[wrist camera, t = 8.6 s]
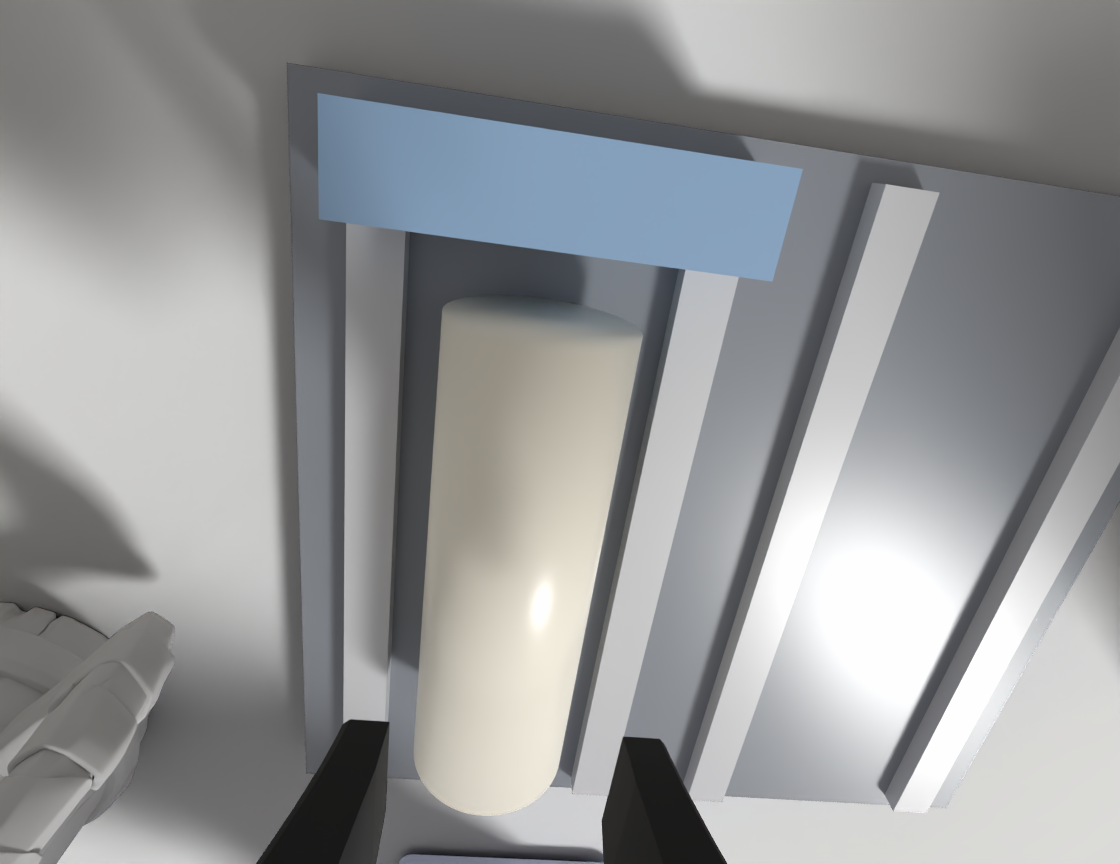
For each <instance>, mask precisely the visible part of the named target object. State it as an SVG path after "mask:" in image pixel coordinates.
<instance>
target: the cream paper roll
mask: <svg viewBox="0 0 1120 864" xmlns="http://www.w3.org/2000/svg"><path fill="white" fill-rule="evenodd" d="M642 338H643V335H642V332H641V331H640V330H639V329H638V328H637V327H636V326H635V325H633V324H631V323H630V322H628V321H626V320H624V319H622V318H620V317H617V316H615V315H612V314H610V313H607V312H604V311H601V310H597V309H594V308H590V307H586V306H582V305H578V304H573V303H569V302H563V301H558V300H551V299H544V298H536V297H527V296H513V295H482V296H471V297H464V298H460V299H456V300H453V301H450V302H449V303H447V304H446V305H445V306H444V307H443V309H442V321H441V336H440V351H439V367H438V382H437V397H436V413H435V428H434V443H433V459H432V474H431V489H430V505H429V520H428V535H427V551H426V566H425V582H424V597H423V612H422V628H421V643H420V658H419V674H418V689H417V704H416V720H415V735H414V762H415V767H416V770H417V773H418V775H419V777H420V779H421V781H422V782H423V784H424V785H425V787H426V788H427V789H428V790H429V791H430V793H431V794H432V795H433V796H434V797H436V798H437V799H438V800H440V801H441V802H442V803H444V804H446V805H447V806H449V807H451V808H453V809H456V810H458V811H460V812H464V813H468V814H472V815H479V816H495V815H503V814H507V813H512V812H515V811H517V810H520V809H522V808H524V807H526V806H528V805H530V804H531V803H533V802H534V801H535V800H537V799H538V798H539V797H540V796H541V795H542V794H543V793H544V792H545V791H546V790H547V789H548V787H549V786H550V785H551V783H552V781H553V780H554V778H555V776H556V773H557V770H558V767H559V762H560V757H561V752H562V747H563V742H564V737H565V731H566V726H567V721H568V716H569V711H570V706H571V701H572V696H573V691H574V685H575V680H576V675H577V670H578V665H579V660H580V655H581V650H582V645H583V640H584V634H585V629H586V624H587V619H588V614H589V609H590V604H591V599H592V594H593V588H594V583H595V578H596V573H597V568H598V563H599V558H600V553H601V548H602V542H603V537H604V532H605V527H606V522H607V517H608V512H609V507H610V502H611V497H612V491H613V486H614V481H615V476H616V471H617V466H618V461H619V456H620V451H621V445H622V440H623V435H624V430H625V425H626V420H627V415H628V410H629V405H630V400H631V394H632V389H633V384H634V379H635V374H636V369H637V364H638V359H639V354H640V348H641V343H642Z"/></svg>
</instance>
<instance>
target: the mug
mask: <svg viewBox="0 0 1120 864" xmlns="http://www.w3.org/2000/svg"><path fill="white" fill-rule="evenodd" d="M174 633H175V628H174V626H173V625H172V624H171V623H170V622H169V621H167V620H166V619H164V618H162V617H161V616H159V615H158V614H156V613H154V612H148V613H145V614H144V615H142V616H140V617H139V618H137V619H136V620H134V621H132V622H131V623H129V624H127V625H126V626H124V627H123V628H121V629H120V630H119V631H118V632H116V633H115V634H114V635H113V636H112V637H111V638H110V639H108V638H106V637H105V636H104V635H102V634H101V633H99V632H97V631H95V630H93V629H91V628H90V627H88V626H86V625H84V624H82V623H80V622H78V621H76V620H75V619H73V618H70V617H67V616H61V617H59V618H57V619H56V614H55V613H54V612H52V611H48V610H45V609H41V608H38V607H34V608H32V609H31V610H29V611H28V612H24V611H22V610H20V609H19V607H18V606H17V605H16V604H14V603H0V864H57V862H58V861H59V859H60V858H61V856H62V855H63V854H64V852H65V851H66V849H67V848H68V846H69V845H70V844H71V842H72V841H73V839H74V838H75V836H76V835H77V834H78V832H79V831H80V829H81V828H82V826H84V825H86V824H88V823H90V822H91V821H93V820H95V819H96V818H98V817H99V816H100V815H101V814H102V813H103V812H105V811H106V810H107V809H108V808H109V807H110V805H111V804H112V803H113V802H114V801H115V800H116V798H117V797H118V796H120V795H121V794H122V793H123V792H124V791H125V789H126V788H127V787H128V785H129V784H130V782H131V780H132V777H133V774H134V771H135V767H136V765H137V762H138V759H139V753H140V742H141V741H142V739H143V737H144V735H145V732H146V729H147V723H148V717H149V713H150V710H151V709H152V707H153V706H154V705H155V703H156V701H157V699H158V697H159V695H160V692H161V689H162V687H163V685H164V682H165V680H166V678H167V677H168V675H169V673H170V671H171V670H172V668H173V666H174V663H175V660H174V657H173V655H172V653H171V652H170V649H171V645H172V640H173V636H174Z"/></svg>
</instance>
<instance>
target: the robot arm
mask: <svg viewBox="0 0 1120 864" xmlns="http://www.w3.org/2000/svg"><path fill="white" fill-rule="evenodd" d="M389 727H390V722H386V721H370V720H354V719H350V720H348V721H347V722H345V723H344V724H342V726H341V728H340V730H339V732H338V734H337V736H336V738H335V740H334V742H333V744H332V746H331V747H330V749H329V751H328V753H327V754H326V756H325V758H324V760H323V762H322V763H321V765H320V767H319V768H318V770H317V772H316V773H315V775H314V777H313V778H312V780H311V782H310V783H309V785H308V786H307V788H306V790H305V791H304V793H303V794H302V796H301V798H300V799H299V801H298V802H297V804H296V806H295V807H294V809H293V810H292V812H291V813H290V815H289V816H288V817H287V819H286V820H285V822H284V823H283V825H282V826H281V828H280V829H279V831H278V832H277V834H276V835H275V837H274V838H273V840H272V841H271V843H270V844H269V846H268V847H267V849H266V850H265V852H264V853H263V855H262V856H261V857H260V859H259V860H258V862H257V863H256V864H376V860H377V855H378V849H379V844H380V838H381V833H382V828H383V822H384V817H385V811H386V792H387V771H388V749H389ZM602 835H603V856H604V863H601V862H581V861H558V860H535V859H512V858H488V857H465V856H442V855H419V854H411V855H406V856H404V857H403V858H402V859H400V862H399V864H727V862H726V861H725V859H724V857H723V855H722V854H721V852H720V850H719V849H718V847H717V845H716V843H715V841H714V840H713V838H712V836H711V834H710V832H709V831H708V829H707V827H706V825H705V823H704V821H703V819H702V818H701V816H700V814H699V812H698V810H697V808H696V806H695V804H694V803H693V801H692V799H691V797H690V795H689V793H688V791H687V789H686V787H685V785H684V783H683V781H682V779H681V777H680V775H679V773H678V771H677V769H676V767H675V765H674V763H673V761H672V759H671V757H670V755H669V753H668V750H667V748H666V746H665V744H664V743H663V742H662V741H661V740H660V739H656V738H640V737H624V736H623V738H622V742H621V746H620V750H619V754H618V758H617V762H616V766H615V770H614V774H613V778H612V782H611V786H610V790H609V794H608V798H607V802H606V806H605V810H604V814H603V818H602Z"/></svg>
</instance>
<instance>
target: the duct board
mask: <svg viewBox="0 0 1120 864" xmlns="http://www.w3.org/2000/svg"><path fill="white" fill-rule="evenodd" d="M287 84H288V121H289V157H290V194H291V231H292V268H293V304H294V341H295V378H296V415H297V451H298V488H299V525H300V562H301V598H302V635H303V672H304V709H305V745H306V773H310V774H315V773H316V772H317V770H318V768H319V767H320V765H321V763H322V762H323V760H324V758H325V756H326V754H327V753H328V751H329V749H330V747H331V746H332V744H333V742H334V740H335V738H336V736H337V734H338V732H339V730H340V728H341V726H342V724H344V723H345V722H347V721H348V720H350V719H354V720H370V721H386V722H390V727H389V749H388V771H387V778H402V779H420V777H419V775H418V773H417V770H416V767H415V762H414V735H415V720H416V704H417V689H418V674H419V658H420V643H421V628H422V612H423V597H424V582H425V566H426V551H427V535H428V520H429V505H430V489H431V474H432V459H433V443H434V428H435V413H436V397H437V382H438V367H439V351H440V336H441V321H442V309H443V307H444V306H445V305H446V304H447V303H449V302H450V301H453V300H456V299H460V298H464V297H471V296H482V295H513V296H527V297H536V298H544V299H551V300H558V301H563V302H569V303H573V304H578V305H582V306H586V307H590V308H594V309H597V310H601V311H604V312H607V313H610V314H612V315H615V316H617V317H620V318H622V319H624V320H626V321H628V322H630V323H631V324H633V325H635V326H636V327H637V328H638V329H639V330H640V331H641V332H642V335H643V338H642V343H641V348H640V354H639V359H638V364H637V369H636V374H635V379H634V384H633V389H632V394H631V400H630V405H629V410H628V415H627V420H626V425H625V430H624V435H623V440H622V445H621V451H620V456H619V461H618V466H617V471H616V476H615V481H614V486H613V491H612V497H611V502H610V507H609V512H608V517H607V522H606V527H605V532H604V537H603V542H602V548H601V553H600V558H599V563H598V568H597V573H596V578H595V583H594V588H593V594H592V599H591V604H590V609H589V614H588V619H587V624H586V629H585V634H584V640H583V645H582V650H581V655H580V660H579V665H578V670H577V675H576V680H575V685H574V691H573V696H572V701H571V706H570V711H569V716H568V721H567V726H566V731H565V737H564V742H563V747H562V752H561V757H560V762H559V767H558V770H557V773H556V776H555V778H554V780H553V781H552V783H551V785H550V786H549V787H567V788H572V794H581V795H599V796H608V794H609V790H610V786H611V782H612V778H613V774H614V770H615V766H616V762H617V758H618V754H619V750H620V746H621V742H622V738H623V736H624V737H640V738H656V739H660V740H661V741H662V742H663V743H664V744H665V746H666V748H667V750H668V753H669V755H670V757H671V759H672V761H673V763H674V765H675V767H676V769H677V771H678V773H679V775H680V777H681V779H682V781H683V783H684V785H685V787H686V789H687V791H688V793H689V795H690V797H691V799H692V800H693V801H712V802H723V799H724V796H732V797H750V798H769V799H787V800H805V801H824V802H842V803H861V804H879V805H890V806H891V808H892V809H893V811H899V812H917V813H927V811H928V809H929V808H930V807H934V808H946V807H947V806H948V804H949V802H950V800H951V799H952V797H953V795H954V793H955V791H956V790H957V788H958V786H959V784H960V783H961V781H962V779H963V777H964V776H965V774H966V772H967V770H968V769H969V767H970V765H971V763H972V761H973V760H974V758H975V756H976V754H977V753H978V751H979V749H980V747H981V746H982V744H983V742H984V740H985V739H986V737H987V735H988V733H989V731H990V730H991V728H992V726H993V724H994V723H995V721H996V719H997V717H998V716H999V714H1000V712H1001V710H1002V709H1003V707H1004V705H1005V703H1006V701H1007V700H1008V698H1009V696H1010V694H1011V693H1012V691H1013V689H1014V687H1015V686H1016V684H1017V682H1018V680H1019V679H1020V677H1021V675H1022V673H1023V671H1024V670H1025V668H1026V666H1027V664H1028V663H1029V661H1030V659H1031V657H1032V656H1033V654H1034V652H1035V650H1036V649H1037V647H1038V645H1039V643H1040V641H1041V640H1042V638H1043V636H1044V634H1045V633H1046V631H1047V629H1048V627H1049V626H1050V624H1051V622H1052V620H1053V618H1054V617H1055V615H1056V613H1057V611H1058V610H1059V608H1060V606H1061V604H1062V603H1063V601H1064V599H1065V597H1066V596H1067V594H1068V592H1069V590H1070V588H1071V587H1072V585H1073V583H1074V581H1075V580H1076V578H1077V576H1078V574H1079V573H1080V571H1081V569H1082V567H1083V566H1084V564H1085V562H1086V560H1087V558H1088V557H1089V555H1090V553H1091V551H1092V550H1093V548H1094V546H1095V544H1096V543H1097V541H1098V539H1099V537H1100V536H1101V534H1102V532H1103V530H1104V528H1105V527H1106V525H1107V523H1108V521H1109V520H1110V518H1111V516H1112V514H1113V513H1114V511H1115V509H1116V507H1117V506H1118V504H1119V502H1120V196H1115V195H1109V194H1102V193H1096V192H1090V191H1084V190H1077V189H1071V188H1065V187H1059V186H1052V185H1046V184H1040V183H1034V182H1028V181H1021V180H1015V179H1009V178H1003V177H996V176H990V175H984V174H978V173H971V172H965V171H959V170H953V169H946V168H940V167H934V166H928V165H922V164H915V163H909V162H903V161H897V160H890V159H884V158H878V157H872V156H865V155H859V154H853V153H847V152H840V151H834V150H828V149H822V148H815V147H809V146H803V145H797V144H791V143H784V142H778V141H772V140H766V139H759V138H753V137H747V136H741V135H734V134H728V133H722V132H716V131H709V130H703V129H697V128H691V127H685V126H678V125H672V124H666V123H660V122H653V121H647V120H641V119H635V118H628V117H622V116H616V115H610V114H603V113H597V112H591V111H585V110H578V109H572V108H566V107H560V106H554V105H547V104H541V103H535V102H529V101H522V100H516V99H510V98H504V97H497V96H491V95H485V94H479V93H472V92H466V91H460V90H454V89H448V88H441V87H435V86H429V85H423V84H416V83H410V82H404V81H398V80H391V79H385V78H379V77H373V76H366V75H360V74H354V73H348V72H341V71H335V70H329V69H323V68H317V67H310V66H304V65H298V64H292V63H287ZM420 780H421V779H420Z"/></svg>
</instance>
